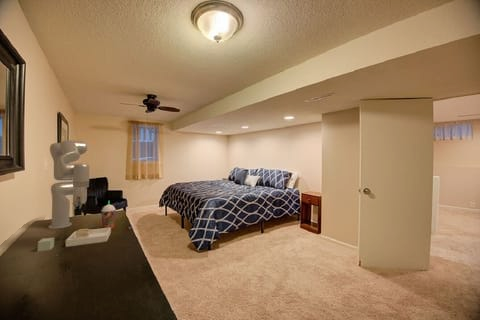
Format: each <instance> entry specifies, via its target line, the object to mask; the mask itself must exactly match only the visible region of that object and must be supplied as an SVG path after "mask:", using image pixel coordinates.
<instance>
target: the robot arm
mask: <svg viewBox="0 0 480 320" xmlns="http://www.w3.org/2000/svg"><path fill="white" fill-rule="evenodd" d="M87 151H88V144H87V143H86V142H85V141H81V140H73V139H72V140H71V139H69V140H68V139H67V140H66V139H65V140H63V141H61V142H54V143H52V144H50V146H49V153H50V157H52V161H53V177H54V180H56V181H58V182H55V183H53V184H52V185H51V186H50V193H51V224H49V225H48V229H51V230H57V229H65V228H68V227H71V226H72V225H73V223H72V222H70V211H71V210H70V208H71V207H70V204H71V201H70V199H69V198H68V197H67V196H69V195H70V196H71V195H72V205H73V206H74V212H73V213H74V215H73V216H74V217H75V216H77V217H78V216H82V213H83V212H87V199H88V198H87V197H88V188H89V187H90V165H89V164H88V163H87V164H86V163H81V162H80V163H79V162H76V161H78V160H79V159H80V158H81V156H82V155H84V154H85V153H87ZM74 162H75V163H74ZM59 181H60V182H59ZM62 181H63V182H62Z"/></svg>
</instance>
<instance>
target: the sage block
mask: <svg viewBox="0 0 480 320" xmlns="http://www.w3.org/2000/svg"><path fill="white" fill-rule="evenodd" d="M54 247H55V237H47V238H46V237H45V238H41V239H40V240H39V241H37V252H45V251H51V250H52V249H53V248H54Z"/></svg>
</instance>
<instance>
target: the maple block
mask: <svg viewBox="0 0 480 320" xmlns="http://www.w3.org/2000/svg"><path fill="white" fill-rule="evenodd" d="M89 230H90V229H89V228H80V229H78V230H76V231H77V232H76V239H77V238H86V237H88V231H89Z"/></svg>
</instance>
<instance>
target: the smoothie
mask: <svg viewBox="0 0 480 320" xmlns="http://www.w3.org/2000/svg"><path fill="white" fill-rule="evenodd" d="M107 202H108V203H107V205H104V206H103V207H102V209H101V222H102V223H101V224H102V225H101V226H102V227H101V228H111V231H112V230H114V228H115V219H116V213H117V212H116V210H117V208H115V206H114V205H113V204H110V200H108V201H107Z"/></svg>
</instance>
